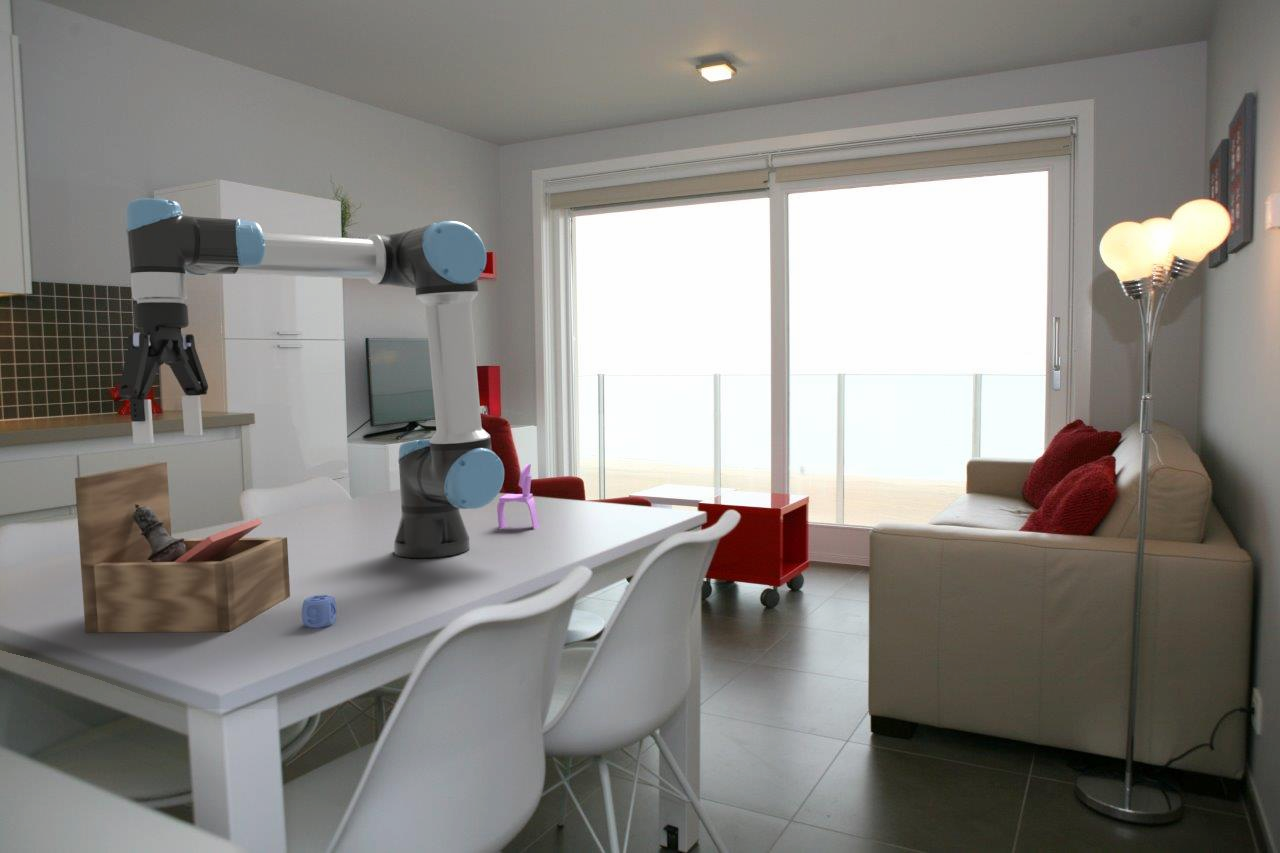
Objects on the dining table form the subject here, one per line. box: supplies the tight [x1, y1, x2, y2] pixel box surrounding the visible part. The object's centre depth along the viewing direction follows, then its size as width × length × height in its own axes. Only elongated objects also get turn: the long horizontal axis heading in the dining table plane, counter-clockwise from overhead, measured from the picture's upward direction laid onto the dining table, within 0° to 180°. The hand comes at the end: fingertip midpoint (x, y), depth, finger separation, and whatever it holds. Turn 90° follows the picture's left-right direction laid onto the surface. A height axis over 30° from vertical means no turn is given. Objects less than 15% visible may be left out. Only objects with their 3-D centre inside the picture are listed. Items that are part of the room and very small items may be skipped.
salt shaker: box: [133, 504, 186, 562], centre depth 144 cm, size 6×6×12 cm
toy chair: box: [496, 462, 541, 531], centre depth 213 cm, size 8×9×15 cm
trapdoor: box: [174, 517, 262, 562], centre depth 143 cm, size 14×15×1 cm
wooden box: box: [74, 461, 291, 633], centre depth 143 cm, size 22×20×23 cm
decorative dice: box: [301, 594, 337, 629], centre depth 136 cm, size 4×4×4 cm
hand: (169, 439), depth 143 cm, fingers open, 13 cm apart
